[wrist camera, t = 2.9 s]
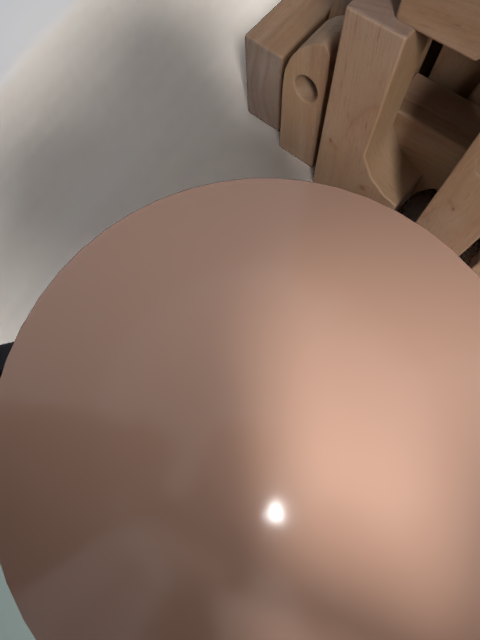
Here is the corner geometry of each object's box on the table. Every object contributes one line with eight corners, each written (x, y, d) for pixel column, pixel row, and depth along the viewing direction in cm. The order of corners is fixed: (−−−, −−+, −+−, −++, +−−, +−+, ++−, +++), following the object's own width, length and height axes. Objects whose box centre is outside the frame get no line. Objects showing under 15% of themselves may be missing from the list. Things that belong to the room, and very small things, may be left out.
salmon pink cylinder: (306, 571, 15) (424, 956, 4) (136, 468, 16) (-128, 541, 5) (384, 389, 16) (623, 301, 6) (225, 310, 18) (164, 115, 7)
